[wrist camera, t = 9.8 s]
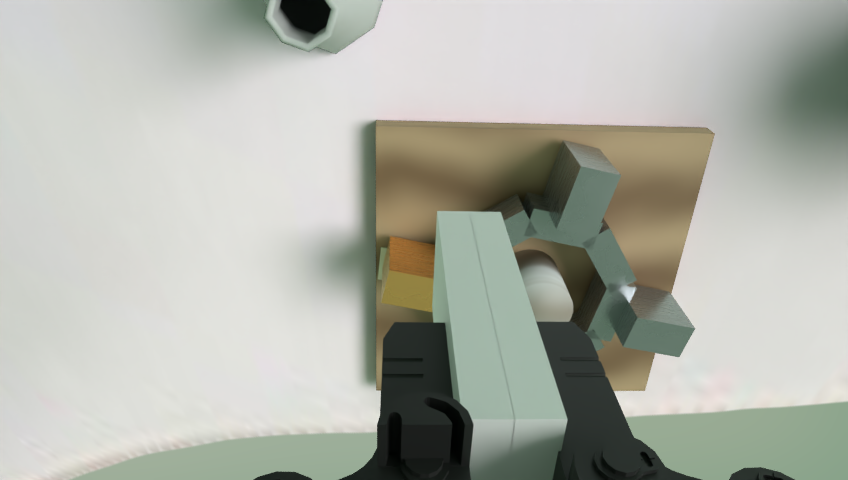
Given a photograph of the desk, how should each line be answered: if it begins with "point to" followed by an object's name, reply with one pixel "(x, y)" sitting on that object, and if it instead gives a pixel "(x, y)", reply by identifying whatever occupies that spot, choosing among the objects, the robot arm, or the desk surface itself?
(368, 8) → the flask
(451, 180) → the board
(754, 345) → the desk surface
